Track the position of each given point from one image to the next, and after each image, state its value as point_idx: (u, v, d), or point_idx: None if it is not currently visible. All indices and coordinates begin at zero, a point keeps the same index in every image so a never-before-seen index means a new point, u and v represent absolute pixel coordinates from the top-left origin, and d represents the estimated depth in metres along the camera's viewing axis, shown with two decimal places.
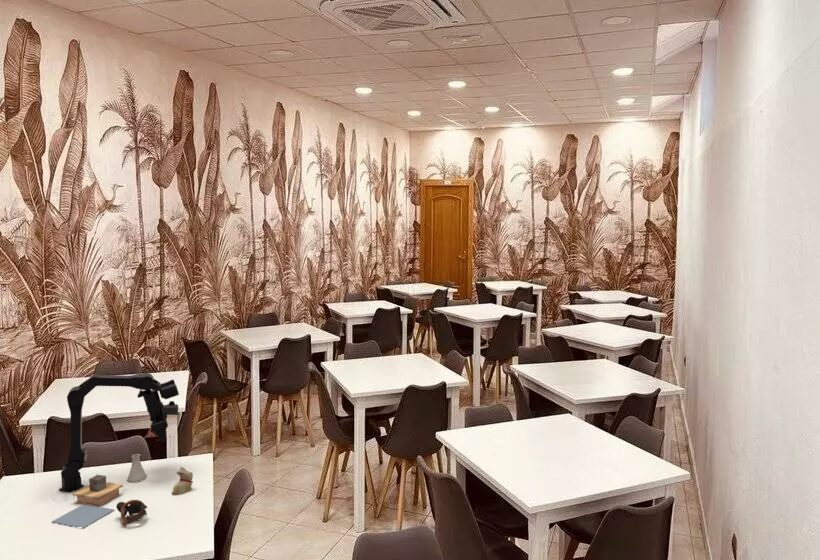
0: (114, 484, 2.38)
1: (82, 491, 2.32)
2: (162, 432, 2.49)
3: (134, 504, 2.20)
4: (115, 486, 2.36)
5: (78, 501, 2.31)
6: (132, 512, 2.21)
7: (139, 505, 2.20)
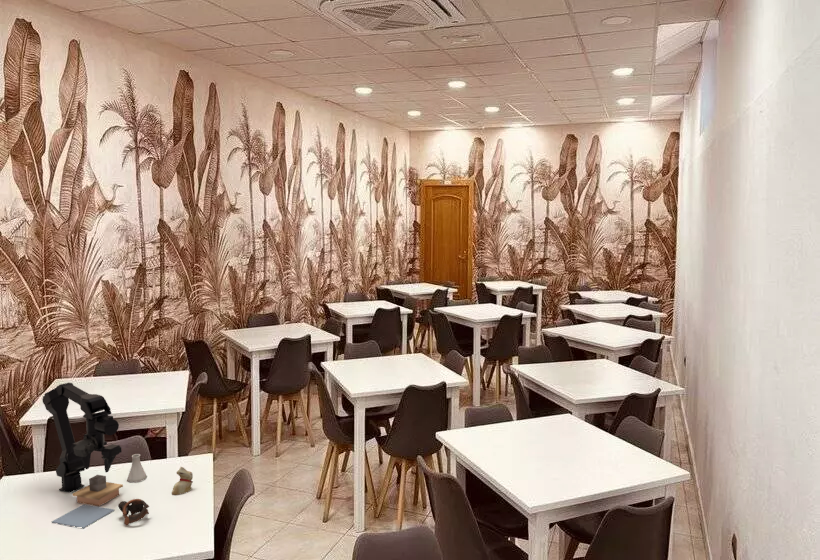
0: (114, 484, 2.38)
1: (82, 491, 2.32)
2: None
3: (136, 503, 2.20)
4: (115, 486, 2.36)
5: (78, 501, 2.31)
6: (134, 511, 2.21)
7: (141, 504, 2.21)
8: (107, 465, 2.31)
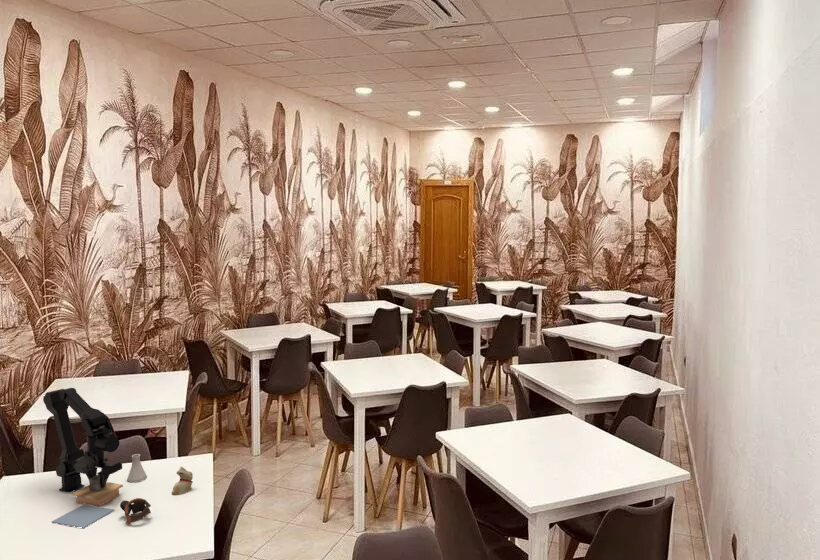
0: (114, 484, 2.38)
1: (82, 491, 2.32)
2: None
3: (138, 502, 2.21)
4: (115, 486, 2.36)
5: (78, 501, 2.31)
6: (135, 510, 2.22)
7: (143, 503, 2.22)
8: (103, 481, 2.32)
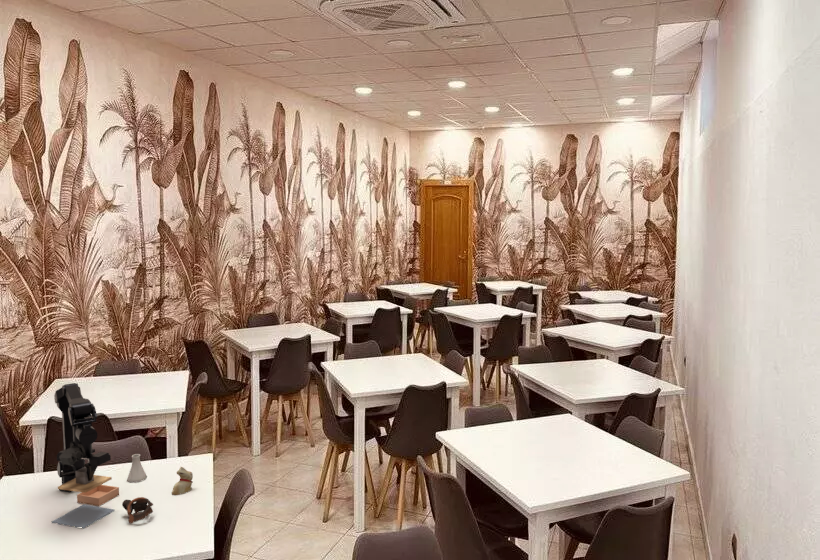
0: (102, 477, 2.25)
1: (68, 484, 2.19)
2: None
3: (140, 502, 2.22)
4: (103, 479, 2.23)
5: (78, 501, 2.31)
6: (138, 510, 2.23)
7: (145, 502, 2.22)
8: (90, 473, 2.19)
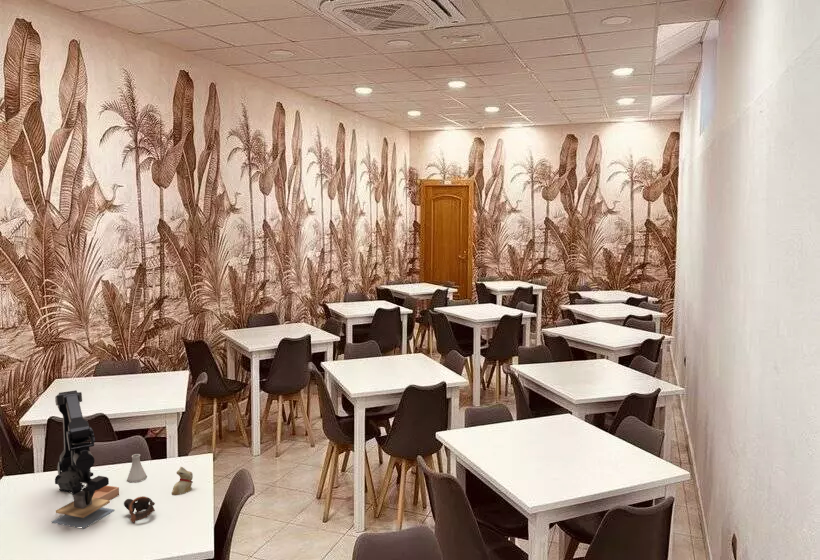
0: (100, 500, 2.24)
1: (66, 508, 2.18)
2: None
3: (141, 501, 2.22)
4: (101, 502, 2.22)
5: None
6: (139, 509, 2.23)
7: (146, 502, 2.23)
8: (88, 497, 2.18)
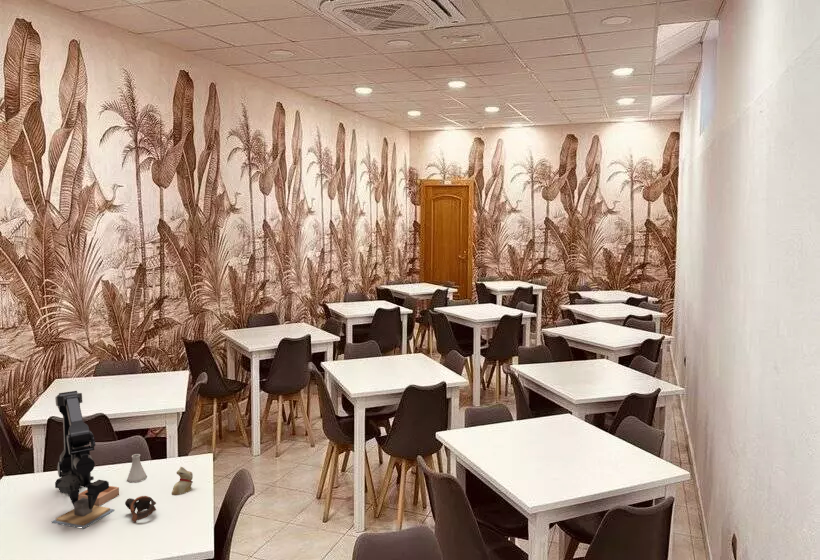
0: (101, 508, 2.24)
1: (66, 516, 2.18)
2: None
3: (143, 500, 2.23)
4: (102, 510, 2.22)
5: None
6: (140, 508, 2.24)
7: (148, 501, 2.23)
8: (91, 502, 2.18)
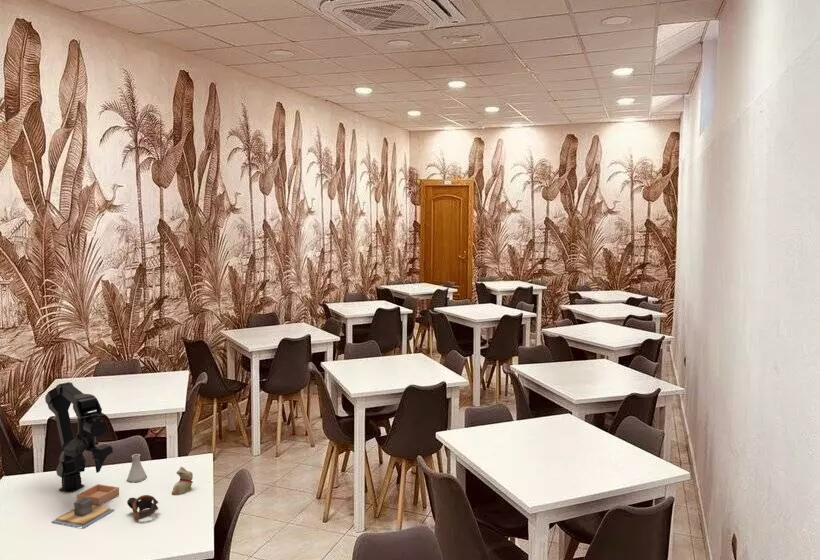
0: (101, 508, 2.24)
1: (66, 516, 2.18)
2: None
3: (145, 499, 2.24)
4: (102, 510, 2.22)
5: None
6: (142, 507, 2.24)
7: (149, 500, 2.24)
8: (98, 465, 2.29)
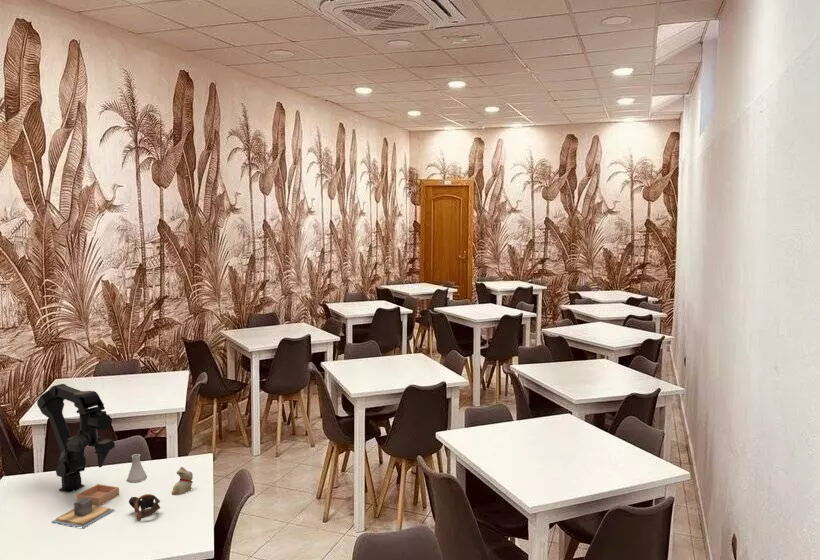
0: (101, 508, 2.24)
1: (66, 516, 2.18)
2: None
3: (146, 499, 2.24)
4: (102, 510, 2.22)
5: None
6: (144, 507, 2.25)
7: (151, 499, 2.25)
8: (100, 460, 2.33)
